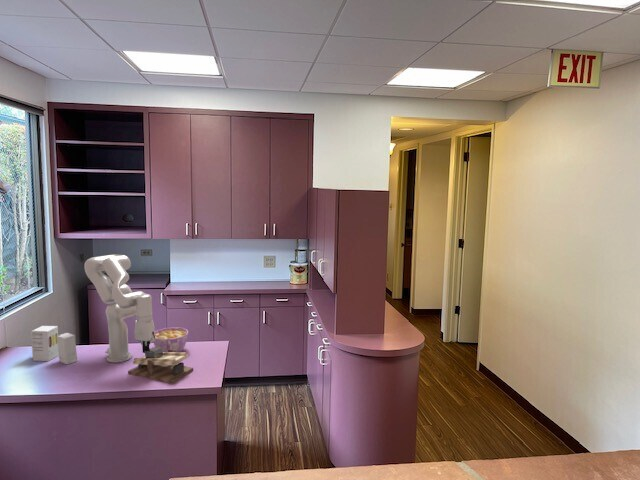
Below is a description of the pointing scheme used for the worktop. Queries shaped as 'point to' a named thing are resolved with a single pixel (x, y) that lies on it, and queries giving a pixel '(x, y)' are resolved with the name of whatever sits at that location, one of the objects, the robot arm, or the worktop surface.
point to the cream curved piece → (163, 359)
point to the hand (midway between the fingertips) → (146, 352)
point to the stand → (161, 371)
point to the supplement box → (44, 343)
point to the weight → (154, 352)
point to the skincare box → (67, 348)
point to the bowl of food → (171, 339)
